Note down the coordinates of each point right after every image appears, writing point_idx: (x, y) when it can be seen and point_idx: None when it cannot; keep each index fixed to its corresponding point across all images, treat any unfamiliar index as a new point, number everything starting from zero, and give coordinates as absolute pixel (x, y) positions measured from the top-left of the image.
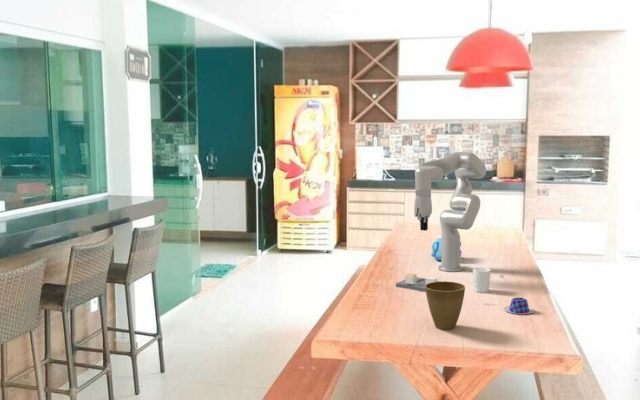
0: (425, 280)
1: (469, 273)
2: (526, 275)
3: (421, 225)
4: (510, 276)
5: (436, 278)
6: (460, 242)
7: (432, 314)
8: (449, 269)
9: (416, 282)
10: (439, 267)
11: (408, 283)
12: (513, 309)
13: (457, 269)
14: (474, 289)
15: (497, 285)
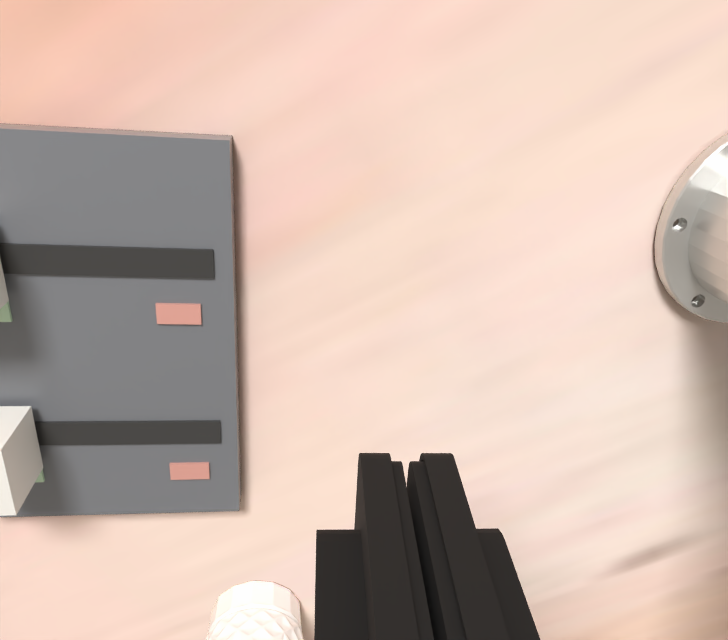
0: (181, 294)
1: (659, 391)
2: (719, 625)
3: (317, 618)
4: (667, 584)
5: (6, 512)
6: None
7: None
8: (670, 262)
9: (4, 303)
10: (719, 154)
11: None
12: None
13: (694, 312)
14: (218, 604)
15: None
